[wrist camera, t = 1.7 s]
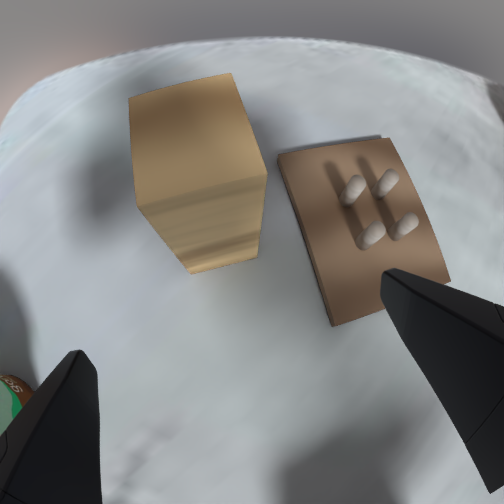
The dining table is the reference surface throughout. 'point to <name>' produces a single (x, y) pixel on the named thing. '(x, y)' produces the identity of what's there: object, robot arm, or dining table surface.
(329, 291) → the peg base
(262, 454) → the dining table surface
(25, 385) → the food container
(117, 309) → the dining table surface
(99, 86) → the dining table surface
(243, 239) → the oak block
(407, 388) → the dining table surface
